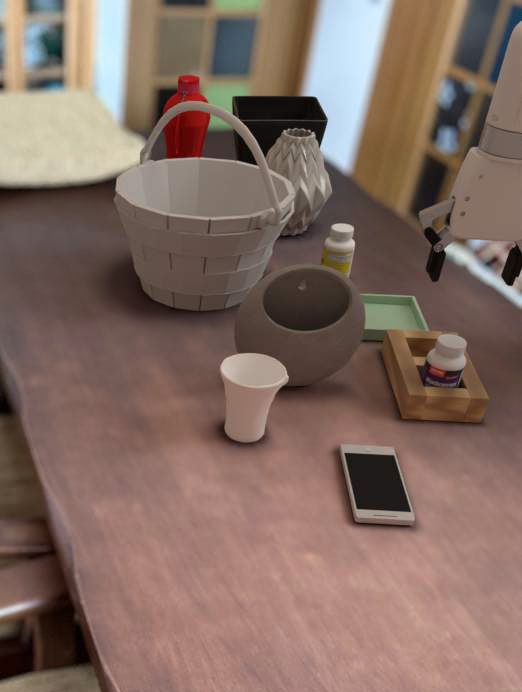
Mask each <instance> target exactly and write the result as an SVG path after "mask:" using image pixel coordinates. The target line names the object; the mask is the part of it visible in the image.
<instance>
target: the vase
mask: <svg viewBox="0 0 522 692" xmlns="http://www.w3.org/2000/svg"><path fill="white" fill-rule="evenodd" d="M265 160H266V163H267V166H268V169H270V170H272V171H274V172H275V173H277V174H279V175H281V176H283V177H284V178H286V179H288V180H290V181H291V183H292V186H293V188H294V191H295V193H296V196H295V198H294V213H293V214H292V216H291V217H290V219H289V220H288V222H287V223H286V225H285V226H284V228H283V230H282V231H281V233H280V236H281V235H282V236H283V237H285V236H293V237H294V236H296V235H302V234H303V233H304V232H306V231H307V229H308V226H309V225H311V224H313V222H314V221H315V219H316V218H317V217H318V215H320V213H321V211H322V209H323V207H324V205H325V204H326V202H327V201H328V199H329V198H330V197H331V195H332V194H333V188H332V183H331V180H330V176H329V173H328V171H327V170H326V168H325V161H324V155H323V152H322V150H321V148H320V149H319V146H318V141H317V140H316V138H315V133H314V132H310V130H304V129H297V128H295V129H288V130H284V131H283V132H282V134H281V137H280V138H278V139H277V141H276V144H275V145H274V146H273V147H272V148H271V149H270V150H269V151H268V154H267V156H266V158H265Z"/></svg>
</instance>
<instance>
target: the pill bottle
mask: <svg viewBox="0 0 522 692" xmlns="http://www.w3.org/2000/svg"><path fill="white" fill-rule="evenodd" d="M467 345H468V342H467V340H466V339H465V338H464V337H462V336H460V335H459V336H457V335H453V334H443V335H440V336H439V337H438V339H437V342H436V344H435V348H434V349H432V350H431V351H430V352H429V353H428V355H427V357H426V361H425V364H424V367H423V371H422V374H421V377H420V378H421V380H422V383H423V385H424V387H444V388H458V386H459V383H460V380H461V377H462V374H463V371H464V368H465V365H466V358H465V356H464V355H463V354H464V352H465V350H466V349H467Z"/></svg>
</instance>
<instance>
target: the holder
mask: <svg viewBox="0 0 522 692" xmlns="http://www.w3.org/2000/svg"><path fill="white" fill-rule="evenodd" d="M443 334H453V335H457V336H460V335H459V334H458V332H456V331H440V330H439V331H438V330H437V331H435V330H429V331H418V330H397V329H386V332H385V336H384V340H383V341H382V345H381V348H380V353H381V357H382V360H383V363H384V366H385V369H386V372H387V375H388V378H389V382H390V384H391V387H392V390H393V394H394V397H395V400H396V403H397V406H398V409H399V412H400V415H401V418H402V419H403V420H421V421H440V422H459V423H478V424H479V423H482V420H483V417H484V414H485V412H486V409H487V407H488V404H489V400H490V397H489V395H488V393H487V391H486V389H485V387H484V385H483V383H482V381H481V378H480V377H479V375H478V372H477V371H476V368H475V366H474V364H473V362H472V361H471V358H470V356H469V353H468V352H467V350H466V349H465V352H464V354H463V355H464V356H465V358H466V365H465V368H464V371H463V374H462V377H461V380H460V383H459V386H458V388H444V387H424V385H423V383H422V380H421V378H420V377H421V374H422V371H423V367H424V364H425V361H426V357H427V355H428V353H429V352H430V351H431V350H432V349H434V348H435V344H436V342H437V339H438V337H439V336H440V335H443Z"/></svg>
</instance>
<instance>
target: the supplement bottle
mask: <svg viewBox="0 0 522 692" xmlns="http://www.w3.org/2000/svg"><path fill="white" fill-rule="evenodd" d="M354 232H355V227H354V226H353V225H351V224H348V223H334V224H332V225H331V227H330V231H329V235H330V236H328V237H327V238H326V239H325V240H324V244H323V249H322V255H321V261H320V265H322V266H326V267H330V268H333V269H335V270H337V271H339V272H341V273H343V274H344V275H346V276H347V277H348V278H349V279H350V274H351V269H352V263H353V258H354V253H355V250H356V248H355V247H356V242H355V240H354V239H353V237H354Z"/></svg>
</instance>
